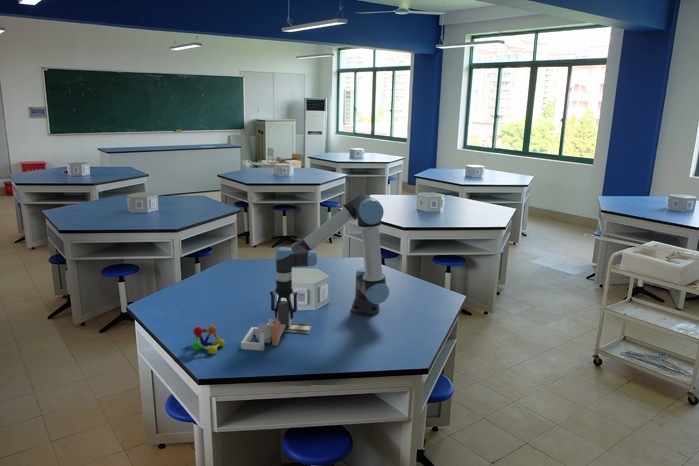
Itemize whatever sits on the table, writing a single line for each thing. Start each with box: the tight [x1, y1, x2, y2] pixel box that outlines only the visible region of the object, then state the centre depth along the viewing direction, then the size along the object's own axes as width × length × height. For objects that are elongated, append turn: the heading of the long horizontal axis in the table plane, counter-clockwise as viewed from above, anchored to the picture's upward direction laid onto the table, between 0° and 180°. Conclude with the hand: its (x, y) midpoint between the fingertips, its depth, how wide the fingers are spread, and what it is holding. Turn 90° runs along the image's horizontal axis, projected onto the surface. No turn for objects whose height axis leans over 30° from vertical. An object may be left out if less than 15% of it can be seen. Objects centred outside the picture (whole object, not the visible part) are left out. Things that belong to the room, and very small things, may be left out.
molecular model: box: [192, 325, 225, 355], centre depth 230 cm, size 15×10×15 cm
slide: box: [266, 320, 312, 335], centre depth 254 cm, size 22×8×2 cm, turn 84°
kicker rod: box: [271, 300, 290, 347], centre depth 244 cm, size 5×22×13 cm, turn 174°
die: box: [254, 323, 272, 344], centre depth 238 cm, size 8×9×10 cm
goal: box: [240, 318, 274, 352], centre depth 239 cm, size 10×18×8 cm, turn 174°
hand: (284, 324), depth 254 cm, fingers closed on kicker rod, 5 cm apart
